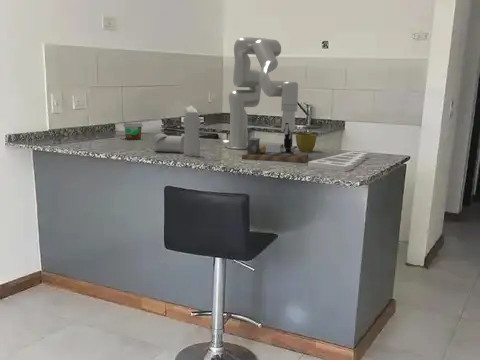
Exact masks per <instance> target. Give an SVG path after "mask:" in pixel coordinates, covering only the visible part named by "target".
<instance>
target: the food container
mask: <svg viewBox="0 0 480 360" xmlns="http://www.w3.org/2000/svg"><path fill="white" fill-rule="evenodd" d="M122 127H123V128H124V134H125V136H124V137H125V140H127V141H128V140H129V141H138V140H142V129H143V128H142V127H143V123H141V122H140V123H139V122H138V123H132V122H131V123H127V122H123V125H122Z"/></svg>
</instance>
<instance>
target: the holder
mask: <svg viewBox="0 0 480 360" xmlns="http://www.w3.org/2000/svg"><path fill="white" fill-rule="evenodd" d="M368 158H369V152H360V151H348V152H343V153H340V154H334V155H331V156H327V157H323V158H318V159H314V160H310V161H308V162H307V164H308V165H307V167H308V168H314V169H315V168H316V169H323V170H330V171H339V172H347V171H350V170H351V171H352V170H354V169H355V167H358V165H359V164H362V162H363V161H365V159H368Z"/></svg>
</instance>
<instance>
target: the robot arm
mask: <svg viewBox="0 0 480 360" xmlns="http://www.w3.org/2000/svg"><path fill="white" fill-rule="evenodd" d="M281 53H282V46H281V43H280V42H279V41H278V40H276V39H270V38H265V37H264V38H262V37H250V36H249V37H248V36H247V37H239V38H237V39H236V41H235V42H234V45H233V54H234V55H233V56H234V65H233V66H234V67H233V78H232V79H233V80H232V81H233V82H232V83H233V85H234V86H235V87H237V88H248V89H233V90H231V91H230V92H229V94H228V104H229V113H230V114H229V139H223V140H222V144H225V145H227V146H226V148H227V149H233V150H246V149H247V146H248V126H249V125H248V124H249V123H248V121H249V119H248V113H247V111H246V108H256V107H257V106H258V105H259V104H260V101H261V92H263V93H264V95H265V96H267V97H269V98H273V97H281V104H280V105H281V106H280V107H281V112H282V114H281V115H282V116H281V126H280V127H281V128H280V129H281V130H280V131H281V133H284V138H283V148H285V147H289V148H290V147H291V148H292V147H293V139H292V140H291V139H290V138H291V132H292V133H293V132H294V131H295V128H296V127H295V126H296V125H295V124H296V112H298V98H299V95H298V93H299V84H298V82H296V81H287V80H271V79H270V77H269V73H271V72H273V71H274V70H276V69H277V67H278V66H279V62H278V59H277V57H278V56H280V55H281ZM249 55H255V56H256V59H257V61H258V63H259V65H260V68H261V70H260V71H259V70H257V69H251V64H252V63H251V58H250V57H249ZM288 131H290V132H288Z"/></svg>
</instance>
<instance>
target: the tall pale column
mask: <svg viewBox="0 0 480 360" xmlns="http://www.w3.org/2000/svg"><path fill="white" fill-rule="evenodd" d="M182 119H183V121H182V122H183V127H184V137H185V139H184V152H183V155H184V156H188V157H196V158H199V157H201V156H200V155H201V147H200V146H201V142H200V127H201V118H200V117H199V112H197V111H194V110H189V111H185V115H184V117H183V118H182Z"/></svg>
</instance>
